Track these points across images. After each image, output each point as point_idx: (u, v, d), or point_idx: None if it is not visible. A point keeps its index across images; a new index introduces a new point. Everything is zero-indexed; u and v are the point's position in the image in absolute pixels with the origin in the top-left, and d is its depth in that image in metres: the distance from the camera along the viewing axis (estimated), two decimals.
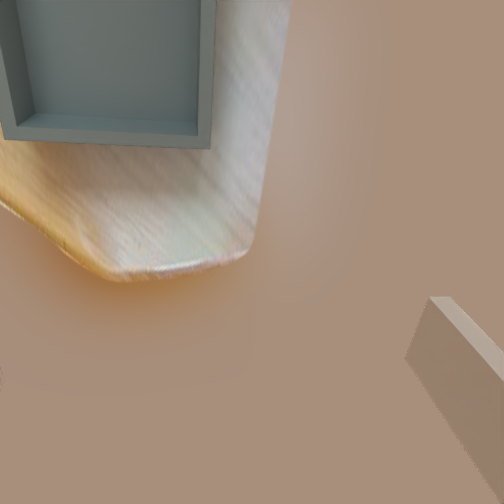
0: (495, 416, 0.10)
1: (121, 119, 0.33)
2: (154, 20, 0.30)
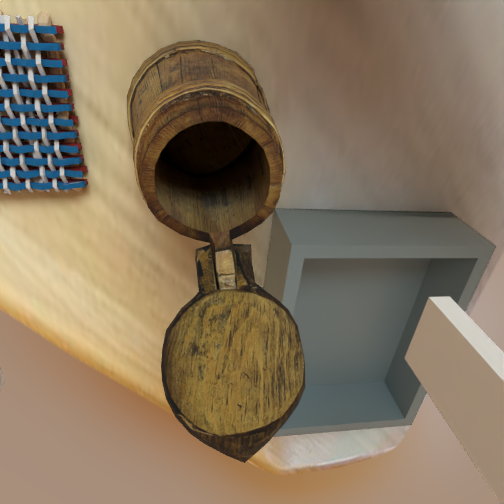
0: (495, 416, 0.10)
1: (329, 388, 0.40)
2: (372, 328, 0.37)
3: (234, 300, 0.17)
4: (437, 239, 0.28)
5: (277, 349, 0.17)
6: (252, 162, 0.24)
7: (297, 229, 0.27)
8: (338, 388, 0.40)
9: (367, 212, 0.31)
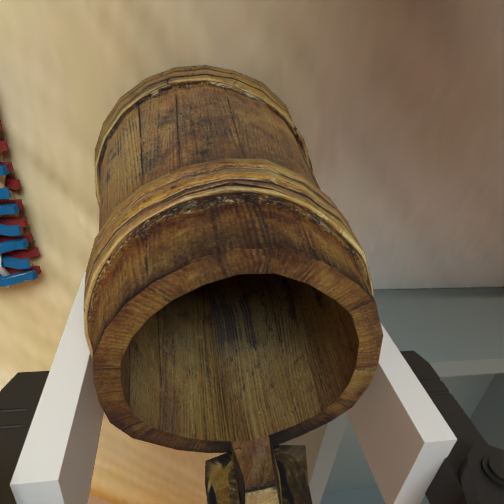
0: None
1: (368, 494, 0.31)
2: None
3: None
4: None
5: None
6: None
7: None
8: (379, 493, 0.31)
9: (434, 292, 0.23)
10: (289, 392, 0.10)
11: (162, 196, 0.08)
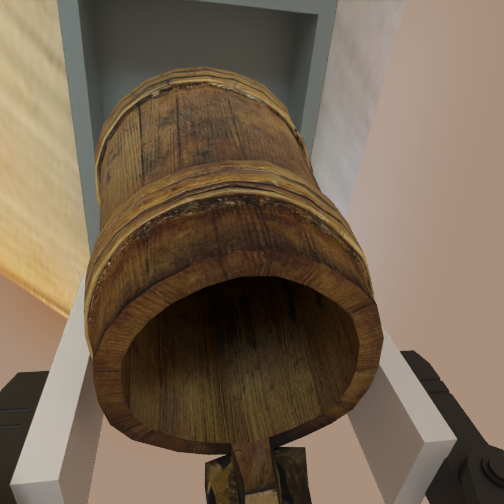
0: None
1: None
2: None
3: None
4: None
5: None
6: None
7: None
8: None
9: None
10: (289, 394, 0.10)
11: (163, 198, 0.08)
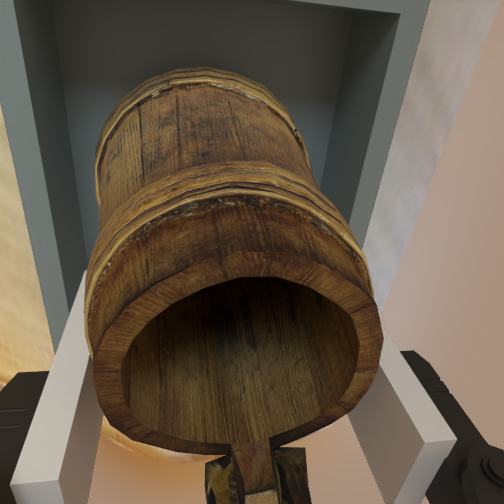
0: None
1: None
2: None
3: None
4: None
5: None
6: None
7: None
8: None
9: None
10: (289, 394, 0.10)
11: (163, 198, 0.08)
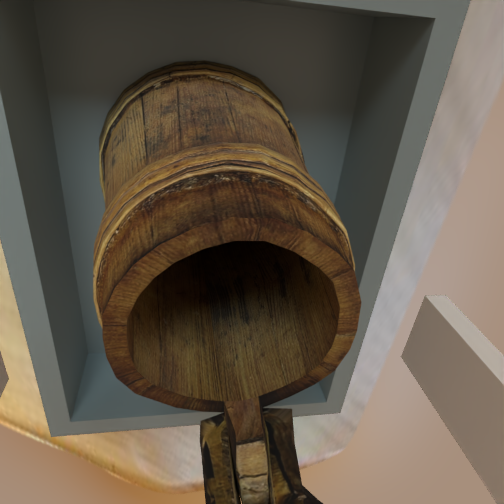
0: (490, 414, 0.10)
1: None
2: None
3: None
4: None
5: None
6: None
7: None
8: None
9: None
10: (278, 359, 0.11)
11: (166, 174, 0.09)
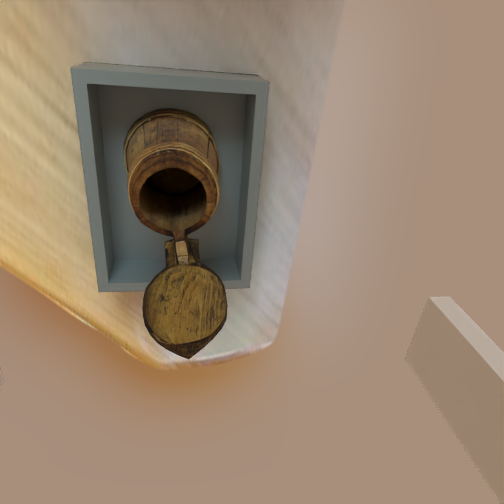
0: (495, 416, 0.10)
1: None
2: None
3: (186, 270, 0.29)
4: (217, 77, 0.32)
5: (211, 298, 0.29)
6: None
7: (89, 66, 0.31)
8: None
9: (173, 69, 0.35)
10: (193, 220, 0.31)
11: (151, 150, 0.28)
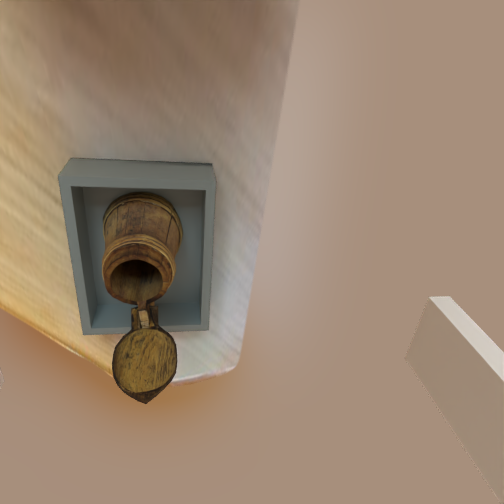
0: (495, 416, 0.10)
1: None
2: None
3: (147, 333, 0.38)
4: (174, 176, 0.40)
5: (164, 355, 0.37)
6: None
7: (73, 168, 0.39)
8: (159, 305, 0.52)
9: (142, 161, 0.43)
10: (154, 291, 0.39)
11: (119, 243, 0.37)
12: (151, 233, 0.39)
